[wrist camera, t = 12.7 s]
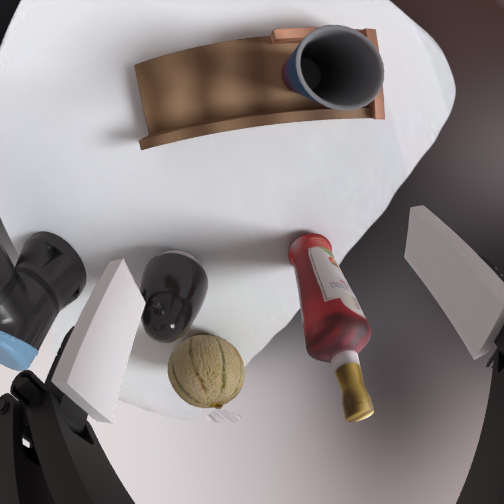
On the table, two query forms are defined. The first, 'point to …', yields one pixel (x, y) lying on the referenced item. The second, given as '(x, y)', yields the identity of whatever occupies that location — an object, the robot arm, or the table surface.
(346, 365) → the liquor
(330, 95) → the cup
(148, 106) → the board
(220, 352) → the cantaloupe
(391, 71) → the table surface
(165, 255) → the black egg-shaped device
